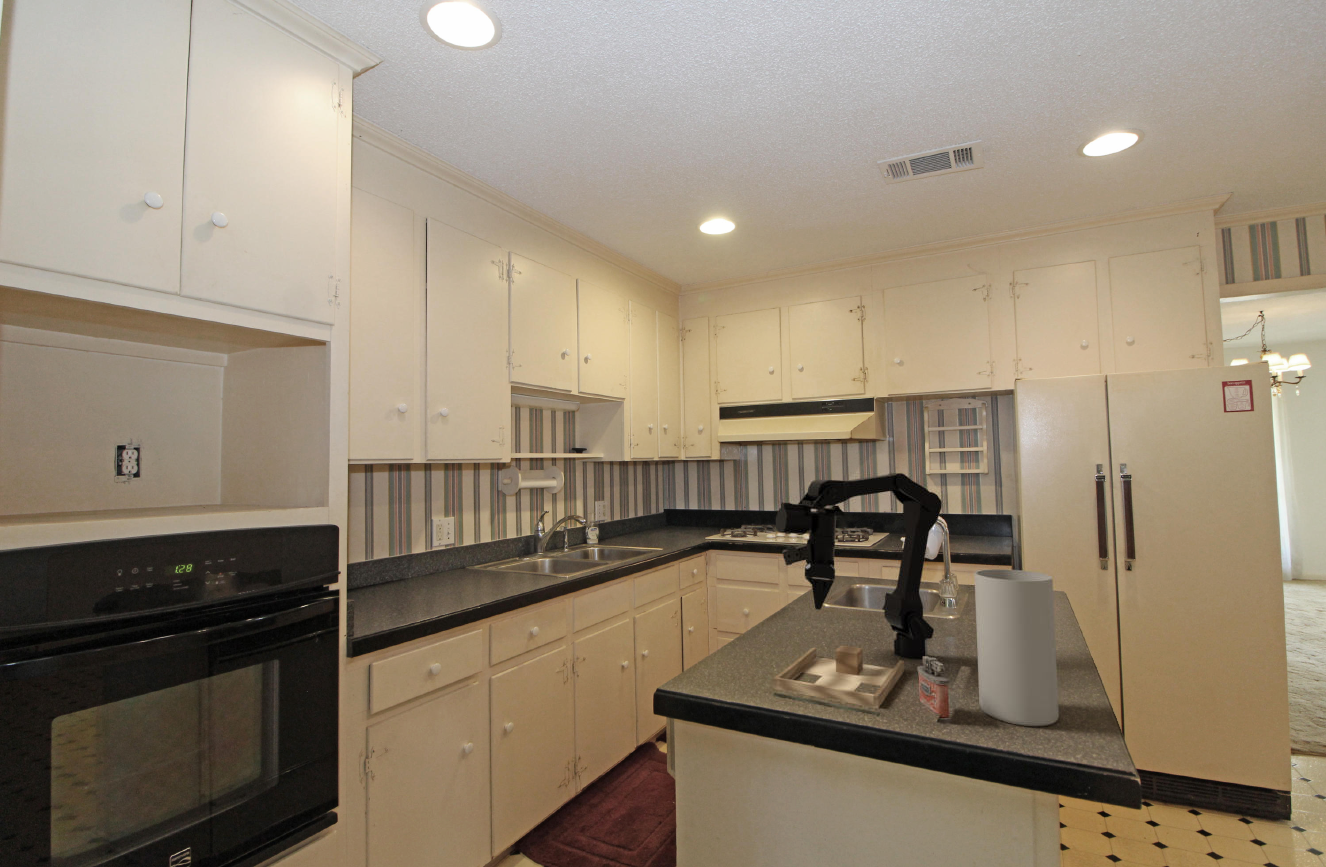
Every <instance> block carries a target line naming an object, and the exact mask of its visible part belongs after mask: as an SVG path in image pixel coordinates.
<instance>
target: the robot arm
mask: <svg viewBox="0 0 1326 867" xmlns="http://www.w3.org/2000/svg"><path fill="white" fill-rule="evenodd" d="M887 492H891V493H892V495H893V496H894V498H895V499H896V500H897V501H898V502H899V503H901V505H902V515H903V519H904V522H905V525H906V526H905V527H906V529H905V535H904V542H903V548H902V553H901V554H902V555H901V560H900V566H899V571H898V577H897V578H898V579H897V583H896V588H894V590H893V591H892V593H890V592H886V593H885V595H884V605H883V607H882V610H883V611H884V614H883V615H884V618H885V620H886V621H887V622H888V623H889V626H890V629H891V630H892V631H893V632H896V636H895V637H896V638H894V640H893V652H894V653H893V654H894V655H895V656H898V657H901V658H903V659H909V660H923V656H928V657H929V653H928V652H929V651H928V648H929V647H928V640H930V639H933V636H934V632H935V629H934V628H933V627H932V626H931V625H930V624H929V623H928V622H927V620H926V619H924V606H923V602H922V599H921V595H920V589H921V582H922V576H923V570H924V564H925V559H926V554H927V546H928V540H929V534H930V531H931V529H933V527H934V526H935V524H936V522H938V520H939V517H940V514H941V510H942V506H943V504H942V503H943V502H942V500H941V498H940V496H938V494H937V493H935V492H933V491H929V489H927V488H926V487H924V486H922V485H920V484H919V483H917V482H916V481H914V480H912V479H911V478H910V477H909V476H907V475H906V474H905V473H901V472H890V473H887V474H883V475H876V476H869V477H863V478H855V479H850V480H849V479H848V480H837V479H834V480H833V479H814V480H812V481H811V482H810V484H809V485H808V489H807V492H806V493H805V494H804V495H803V497H802V499H800V501H799V502H798V503H792V502H786V501H785V502H784V501H782V502H781V503H780V508H779V509H778V510H777V514H776V516H775V526H776V530H777V532H778V533H780V534H794V535H795V534H796V535H805V534H806V533H807V532H808V531H809V532H808V539H807V540H806V544H804V545H799V546H796V545H795V544H793V545H790V546H787V547H786V549H783V550H782V551H781V553H782V556H783V560H784V562H785V563H784V564H785V566H790V565H793V564H795V563H798V562H803V561H805V563H806V565H805V566H804V578H805V579H806V580H807V581H808V583H810V585H811V587H812V588H811V589H812V594H813V601H814V609H815V610H817V611H818V610H821V609H822V607H823V605H824V603H825V601H826V598H827V596H828V594H829V592H830V590H831V588H832V586H833V584H834V582H835V578H836V577H835V576H836V568H835V545H836V527H837V526H836V525H837V517H846V513H845V512H844V511H843V510H842V509H841V507H840V506H839V505H838V504H842V503H843V502H846V501H848V500H850V499H852V498H855V497H859V496H867V495H873V494H881V493H887ZM827 506H828V507H827ZM812 510H816V511H812Z"/></svg>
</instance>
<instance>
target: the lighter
mask: <svg viewBox="0 0 1326 867" xmlns="http://www.w3.org/2000/svg"><path fill="white" fill-rule="evenodd" d="M922 664H923V665H919V666H917V672H918V687H919V689H918V691H919V701H920V703H921V704H923V706H925V708H927V709H929V710H930V711H932V712H934V713H935V714H938V718H937V721H936V723H938V722H939V723H938V724H942V723H943V724H944V723H945V725H947V723H948V724H951V722H952V720H951V715H950V703H949V702H950V701H949V684H950V678H949V677H948V675H946V674H944V673H945V665H944V664H943V663H941V662H939V661H938V659H937V658H936V657H931V656H929V655H928V656H923V659H922Z"/></svg>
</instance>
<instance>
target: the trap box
mask: <svg viewBox="0 0 1326 867" xmlns="http://www.w3.org/2000/svg"><path fill="white" fill-rule="evenodd" d="M904 672H905V661H904V660H899V661H898V663H897V664H896V665H895V667H893V668H892V667H891V668H890V667H885V666H877V665H873V664H865V663H863V670H862V671H861V672H860V673H859V675H858V676H857V675H851V674H845V673H839V672H836V659H832V658H826V657H820V656H817V647H812V648H809V650H807V651H806V652H805V653H804V654H803V655H801V656H800V657H798V658H797V660H795V661H794V662H792V663H791V664H790V665H789V666H788V667H786V668H785V669H783V671H781V672H779V673H778V674H777V675H776V676H774V678H773V689H774V690H778V691H779V690H780V691H784V692H790V693H794V694H798V695H799V694H800V695H807V696H811V697H817V698H822V699H827V700H831V701H838V702H842V703H843V702H844V703H846V704H847V703H848V704H853V705H859V706H864V707H868V708H873V709H874V708H875V709H879V708H880V707H881V704H883V702H884V701H885V699H886V698H887V696H888V695H889V693H890V692H891V691H892V689H893V688H894V686H895V685H896V683H897V682H898V680H899V679H900V678H901V677H902V675H903V673H904ZM802 673H803V674H808V675H813V676H820V678H818V680H816V681H815V682H814V683H811V682H806V681H800V680H795V679H797V678H798V676H800V675H801V674H802ZM861 684H866V685H867V684H868V685H872V686H878V687H879V688H877V690H876V691H875V693H874V694H873V693H867V692H861V691H856V690H857V688H859V687H860V686H861ZM773 696H774V697H776V698H782V699H786V698H788V699H787V700H791V699H792V700H793V701H796V700H797V701H798V702H801V701H802V703H807V702H808V703H807V704H812V705H817V706H822V705H823V707H827V708H832V707H834V708H833V709H837V708H838V709H837V710H842V709H844V711H848V710H851V711H850V712H853V711H856V712H855V713H858V712H862V713H861V714H863V713H867V714H866V715H868V714H873V715H876V716H875V717H880V715H881V712H878V711H877V712H876V711H871V710H868V709H867V710H866V709H861V708H857V707H856V708H855V707H851V706H847V705H846V706H845V705H840V704H834V703H830V702H827V701H826V702H825V701H819V700H814V699H809V698H804V697H799V696H794V695H790V694H784V693H777V692H774V693H773ZM797 701H796V702H797ZM845 709H846V710H845ZM879 714H880V715H879ZM873 715H872V716H873Z"/></svg>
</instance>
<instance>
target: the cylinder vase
mask: <svg viewBox="0 0 1326 867" xmlns="http://www.w3.org/2000/svg"><path fill="white" fill-rule="evenodd" d="M1053 580H1054V579H1053V576H1051V575H1049V574H1046V573H1041V572H1036V571H1028V570H1019V569H1005V568H1004V569H1003V568H1001V569H997V568H996V569H994V568H990V569H980V570H976V571H974V592H975V593H974V595H975V597H974V598H975V617H976V618H975V620H976V621H975V623H976V646H977V670H978V671H977V672H978V674H977V675H978V697H979V699H978V700H979V707H980V709H981V710H982V711H983V712H984V713H985V714H986V715H988V716H990V717H992V718H994V719H996V720H999V721H1001V722H1005V723H1009V724H1014V725H1018V726H1025V727H1045V726H1049V725H1053V724H1054V723H1057V721H1058V720H1059V717H1060V716H1059V715H1060V714H1059V713H1060V712H1059V695H1058V694H1059V691H1058V672H1057V652H1056V647H1057V646H1056V630H1055V625H1056V624H1055V605H1054V585H1053V583H1054V582H1053Z"/></svg>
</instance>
